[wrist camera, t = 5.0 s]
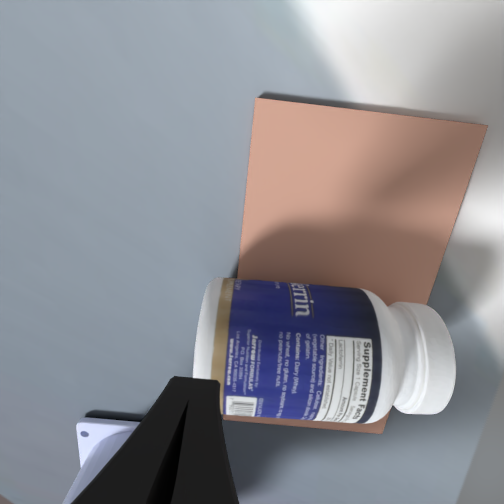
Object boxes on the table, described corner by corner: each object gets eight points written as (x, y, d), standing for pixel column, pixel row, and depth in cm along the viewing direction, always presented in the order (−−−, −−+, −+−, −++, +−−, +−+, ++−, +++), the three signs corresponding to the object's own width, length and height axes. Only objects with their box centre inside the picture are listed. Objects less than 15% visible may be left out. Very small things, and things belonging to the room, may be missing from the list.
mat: (379, 428, 20) (382, 433, 19) (223, 414, 20) (222, 419, 19) (481, 125, 14) (488, 125, 13) (255, 98, 13) (255, 97, 13)
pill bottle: (214, 267, 16) (400, 282, 17) (206, 371, 17) (387, 384, 17) (196, 291, 11) (481, 313, 11) (185, 447, 11) (457, 465, 11)
